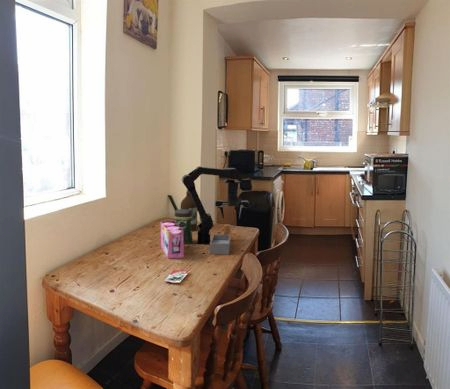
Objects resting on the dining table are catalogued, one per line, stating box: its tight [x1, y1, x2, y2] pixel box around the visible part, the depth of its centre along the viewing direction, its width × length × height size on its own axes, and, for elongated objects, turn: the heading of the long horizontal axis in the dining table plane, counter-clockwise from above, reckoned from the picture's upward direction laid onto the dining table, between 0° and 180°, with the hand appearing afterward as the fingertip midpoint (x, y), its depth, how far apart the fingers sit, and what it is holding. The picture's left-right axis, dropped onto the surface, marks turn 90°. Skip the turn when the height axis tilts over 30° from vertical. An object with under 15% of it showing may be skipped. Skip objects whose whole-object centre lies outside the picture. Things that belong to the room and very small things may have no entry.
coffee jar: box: [173, 208, 193, 245], centre depth 232 cm, size 10×8×19 cm
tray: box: [209, 234, 231, 255], centre depth 221 cm, size 10×18×6 cm, turn 177°
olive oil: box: [180, 189, 198, 232], centre depth 261 cm, size 11×11×25 cm
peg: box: [223, 223, 232, 242], centre depth 238 cm, size 4×4×9 cm
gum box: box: [160, 220, 185, 260], centre depth 215 cm, size 24×8×14 cm, turn 18°
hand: (231, 218), depth 235 cm, fingers open, 9 cm apart
